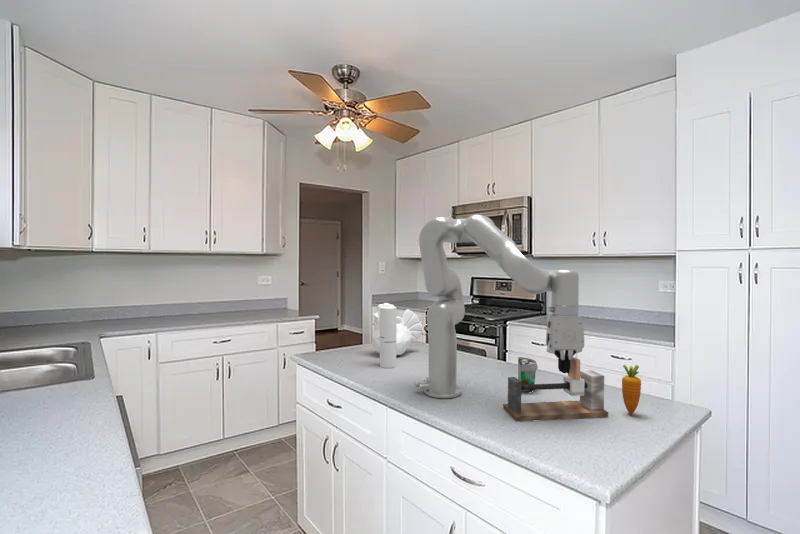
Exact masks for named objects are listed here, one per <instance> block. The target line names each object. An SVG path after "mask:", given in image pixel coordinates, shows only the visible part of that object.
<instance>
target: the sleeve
mask: <svg viewBox="0 0 800 534" xmlns="http://www.w3.org/2000/svg"><path fill="white" fill-rule="evenodd" d="M580 371H581V359H579V358H578V357H574V356H573V357H572V359H571V360H570V370H569V373H567V375H563V383H570V389H562V390H563V392H564V393H566V394H568V395H569V396H571V397H577V396H579V397H580V396H583V395H584V381H585V380H584V379H582V378H580Z"/></svg>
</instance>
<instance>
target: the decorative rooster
mask: <svg viewBox="0 0 800 534" xmlns="http://www.w3.org/2000/svg"><path fill="white" fill-rule="evenodd" d="M380 307H396V306H395V305H394V304H391V303H389V302H384V303H380V304H378V305H377V308H376V309H377V311H376V312H375V313H373V314H372V316H373V317H374V322H375V323H374V329H375V330H374V333H373V335H372V346H373V348H374V350H375V351H376V352H377V353H378V355H380ZM419 318H420V317H419V316H418V315H417V314H416V313H415V312H414V311H413V310H410V309H409V308H408V309H405V310H404V311H403V313H402V316H398V315H397V320H399V321H400V322H399V323H397V331H396V356H402V355H403V354H404V353H405V352H406V351H407V350H408V349H409V346H410V345H411V344H415V343H416V342H417V340H418V339H420V338H421V335H422V330H423V324H422V323H421V320H420V319H419Z"/></svg>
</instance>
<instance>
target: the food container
mask: <svg viewBox="0 0 800 534" xmlns="http://www.w3.org/2000/svg"><path fill="white" fill-rule="evenodd" d="M517 359H518V360H517V362H518V363H517V364H518V369H517V370H518V371H517V374H518V375H517V379H518V380H520V381H521V385H529V384H536V383H535V382H536V373H537V371H536V370H538V369H539V367H538V363H537V361H536V360H535V359H532V358H530V357H524V356H523V357H522V356H518V357H517ZM532 391H533V392H534V391H535V390H521V394H529V392H531V393H533V392H532Z"/></svg>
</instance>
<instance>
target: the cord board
mask: <svg viewBox="0 0 800 534" xmlns="http://www.w3.org/2000/svg"><path fill="white" fill-rule="evenodd" d="M580 378H582V379H584V380H585V381H584V395H583V396H579V400H561V401H560V400H559V401H544V402H543V401H542V402H537V401H536V402H522V393H521V390H534V391H541V390H542V391H543V390H563V389H570V383H564V382H561V383H558V382H557V383H535V384H529V385H521V381H520V380H518V377H515V376H507V403H503V404H502V410H503V411H505V413H507V414H508V415H509V416H510V417H511V418H512V419H513V420H514V421H515V422H516V423H518V422H517V421H520V422H535V421H534V420H540V421H557V420H558V421H559V419H560V420H576V419H577V420H578V419H594V418H595V419H597V418H598V417H600V418H609V411H607V410H606V409H605V375H603V374H602V373H599V372H596V371H594V370H580ZM598 419H599V418H598Z"/></svg>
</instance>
